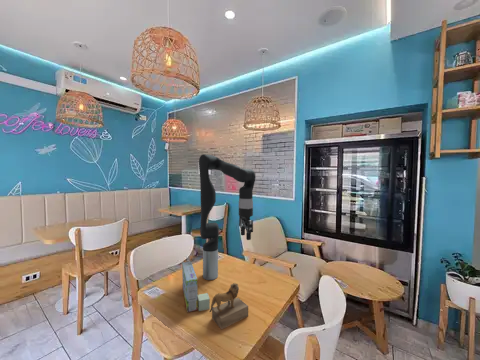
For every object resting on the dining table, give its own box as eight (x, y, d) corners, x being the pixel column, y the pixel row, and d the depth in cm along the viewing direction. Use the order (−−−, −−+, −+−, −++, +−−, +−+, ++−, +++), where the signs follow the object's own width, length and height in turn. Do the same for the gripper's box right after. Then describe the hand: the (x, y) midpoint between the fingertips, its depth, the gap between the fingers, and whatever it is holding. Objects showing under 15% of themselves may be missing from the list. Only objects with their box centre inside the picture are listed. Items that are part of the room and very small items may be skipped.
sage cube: (197, 305, 102) (197, 294, 102) (207, 302, 103) (207, 293, 103) (198, 311, 97) (198, 300, 97) (209, 309, 99) (209, 298, 98)
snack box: (181, 289, 115) (181, 262, 115) (192, 287, 117) (191, 260, 117) (186, 313, 96) (186, 280, 95) (198, 310, 98) (198, 278, 97)
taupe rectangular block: (212, 319, 92) (211, 308, 92) (238, 307, 100) (238, 297, 100) (221, 330, 86) (221, 318, 85) (248, 316, 94) (248, 306, 94)
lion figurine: (234, 299, 99) (234, 280, 99) (241, 304, 95) (241, 284, 95) (206, 310, 90) (206, 289, 90) (212, 317, 86) (212, 295, 86)
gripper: (234, 205, 116) (234, 234, 116) (243, 209, 102) (243, 242, 103) (247, 204, 118) (247, 233, 119) (257, 208, 105) (257, 240, 105)
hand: (245, 237), depth 111 cm, fingers open, 8 cm apart
